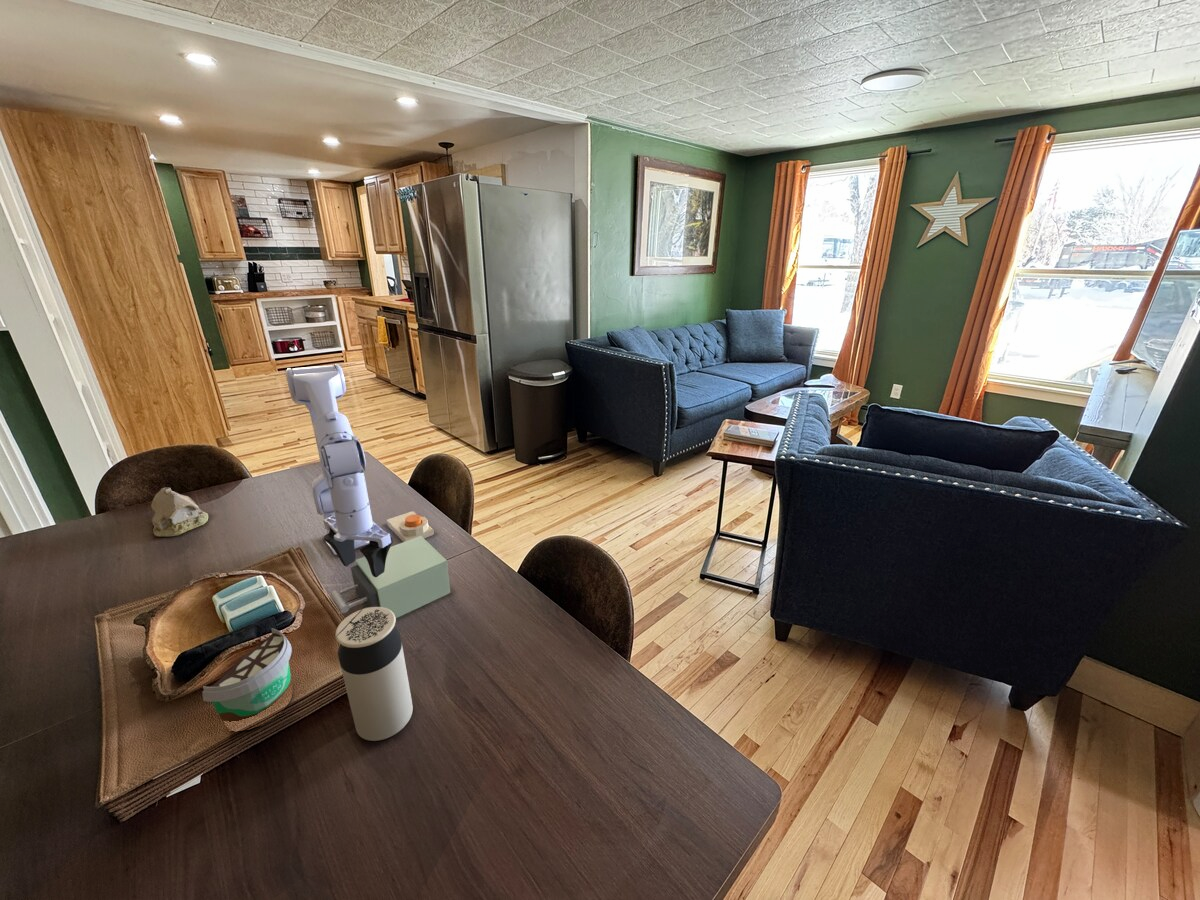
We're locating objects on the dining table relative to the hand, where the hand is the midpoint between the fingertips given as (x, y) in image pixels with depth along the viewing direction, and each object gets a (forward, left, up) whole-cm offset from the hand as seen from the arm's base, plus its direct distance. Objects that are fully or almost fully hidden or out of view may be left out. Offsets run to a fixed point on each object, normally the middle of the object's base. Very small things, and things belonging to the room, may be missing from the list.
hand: (364, 568), depth 89 cm
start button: (-20, +17, -7) cm, 28 cm away
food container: (+13, -19, -10) cm, 25 cm away
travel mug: (+26, -7, -10) cm, 28 cm away
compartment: (0, +3, -9) cm, 9 cm away
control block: (-23, +18, -10) cm, 31 cm away
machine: (0, +7, -10) cm, 12 cm away
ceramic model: (-64, -25, -10) cm, 70 cm away
